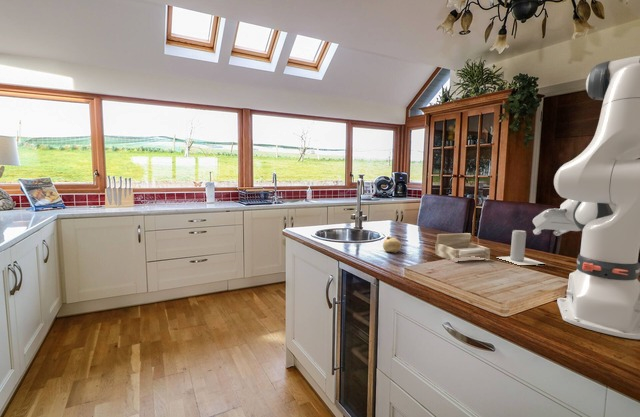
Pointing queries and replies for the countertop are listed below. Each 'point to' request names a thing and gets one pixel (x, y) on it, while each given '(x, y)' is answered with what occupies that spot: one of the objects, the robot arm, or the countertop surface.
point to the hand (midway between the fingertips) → (545, 233)
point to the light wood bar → (471, 252)
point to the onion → (392, 245)
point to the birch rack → (455, 245)
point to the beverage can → (518, 245)
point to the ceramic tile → (524, 262)
